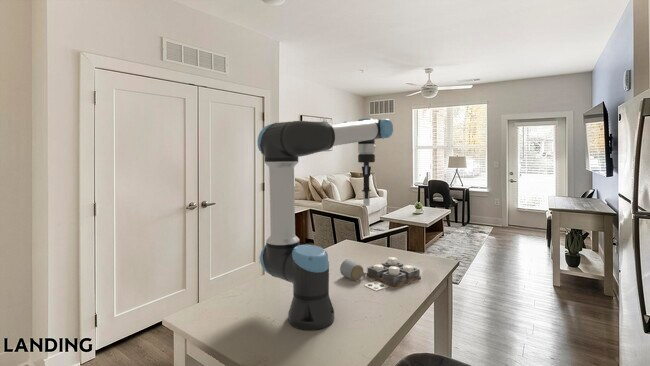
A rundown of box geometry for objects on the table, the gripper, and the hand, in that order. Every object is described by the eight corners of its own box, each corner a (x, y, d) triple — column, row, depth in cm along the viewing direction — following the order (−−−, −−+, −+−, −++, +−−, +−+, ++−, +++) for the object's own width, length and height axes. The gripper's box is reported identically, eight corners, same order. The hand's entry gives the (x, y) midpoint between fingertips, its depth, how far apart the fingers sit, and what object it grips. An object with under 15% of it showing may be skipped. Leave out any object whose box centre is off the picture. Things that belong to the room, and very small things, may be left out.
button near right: (394, 278, 136) (394, 270, 135) (386, 275, 139) (386, 267, 139) (401, 276, 138) (401, 268, 138) (393, 273, 142) (393, 265, 142)
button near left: (378, 276, 143) (378, 268, 143) (371, 273, 147) (371, 265, 146) (385, 273, 146) (385, 266, 145) (378, 271, 149) (378, 263, 149)
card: (376, 291, 131) (376, 289, 131) (363, 285, 136) (363, 284, 136) (388, 286, 135) (388, 285, 135) (376, 281, 140) (376, 280, 140)
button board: (395, 287, 134) (395, 278, 133) (366, 275, 147) (366, 267, 147) (420, 278, 143) (420, 269, 143) (390, 268, 157) (391, 259, 157)
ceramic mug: (351, 283, 139) (352, 265, 138) (339, 277, 146) (339, 260, 145) (370, 278, 145) (370, 260, 145) (357, 272, 152) (357, 256, 151)
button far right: (408, 277, 141) (408, 269, 141) (400, 274, 145) (400, 266, 144) (415, 275, 144) (415, 267, 144) (407, 272, 147) (407, 264, 147)
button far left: (392, 268, 148) (392, 260, 148) (385, 265, 152) (385, 258, 151) (399, 266, 151) (399, 258, 151) (392, 263, 154) (392, 256, 154)
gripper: (374, 153, 143) (374, 207, 145) (374, 153, 156) (374, 203, 158) (357, 153, 144) (357, 207, 146) (358, 153, 157) (358, 203, 159)
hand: (366, 205), depth 152 cm, fingers closed
